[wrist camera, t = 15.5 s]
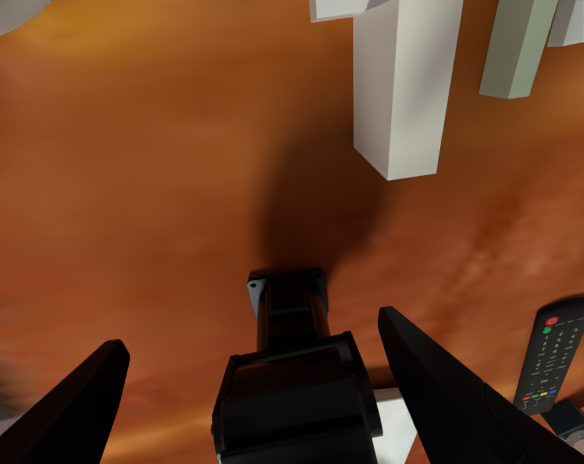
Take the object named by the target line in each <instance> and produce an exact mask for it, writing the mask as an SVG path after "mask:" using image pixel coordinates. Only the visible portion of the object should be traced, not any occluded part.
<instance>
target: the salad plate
mask: <svg viewBox="0 0 584 464" xmlns="http://www.w3.org/2000/svg"><path fill="white" fill-rule="evenodd" d="M373 392H374V395H375V399H376V402H377V406H378V410H379V414H380V418H381V423H382V428H383V436H380V437H375V438H372V441H373V445H374V449H375V453H376V457H377V461H378V464H404V463H405V460H406V458H407V456H408V453H409V451H410V448H411V446H412V444H413V441H414V439H415V437H416V434H417V431H416V428H415V426H414V424H413V421H412V419H411V417H410V414H409V412H408V410H407V407H406V405H405V403H404V400H403V398H402V396H401V393H400V391H399V388H398V387H397V388H387V389H376V390H373Z"/></svg>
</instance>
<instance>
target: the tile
mask: <svg viewBox="0 0 584 464" xmlns="http://www.w3.org/2000/svg"><path fill="white" fill-rule="evenodd" d="M581 42H584V0H559V2H558V6H557V10H556V13H555V17H554V21H553V25H552V29H551V32H550V36H549V40H548V44H547V47H556V46H566V45H571V44H576V43H581Z"/></svg>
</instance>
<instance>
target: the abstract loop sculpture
mask: <svg viewBox="0 0 584 464" xmlns="http://www.w3.org/2000/svg"><path fill="white" fill-rule="evenodd" d="M540 414H541V415H542V417H543V418H544V419H545V420H546V422H547V423H548V424H549V426H550V427H551V428H552V429H553V431H554V432H555V433H556V435H557V436H559V437H561V438H562V439H564V440H566V443H567V444H569V445H570V446H572V447H573V446H574V445H575V443H576V442H577V441H579V440H581V439H584V412H583V411H582V410H581V409H580V408H579V407H577V406H576V405H575V404H573V403H572V402H571V401H569V400H568V399H566V400H564V401H561V402H559V403H557V404H555V405H553V407H552V409H551V411H547V412H543V413H540Z"/></svg>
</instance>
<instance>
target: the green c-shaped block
mask: <svg viewBox="0 0 584 464" xmlns="http://www.w3.org/2000/svg"><path fill="white" fill-rule="evenodd" d="M557 3H558V0H499V2H498V6H497V11H496V16H495V20H494V25H493V29H492V34H491V39H490V43H489V48H488V52H487V57H486V62H485V66H484V71H483V75H482V80H481V85H480V89H479V94H481V95H486V96H492V97H498V98H504V99H513V98H520V97H527V96H529V95H530V91H531V88H532V85H533V81H534V78H535V75H536V72H537V68H538V65H539V62H540V59H541V55H542V52H543V49H544V45H545V42H546V39H547V36H548V32H549V29H550V26H551V22H552V19H553V16H554V13H555V9H556V6H557Z"/></svg>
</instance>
